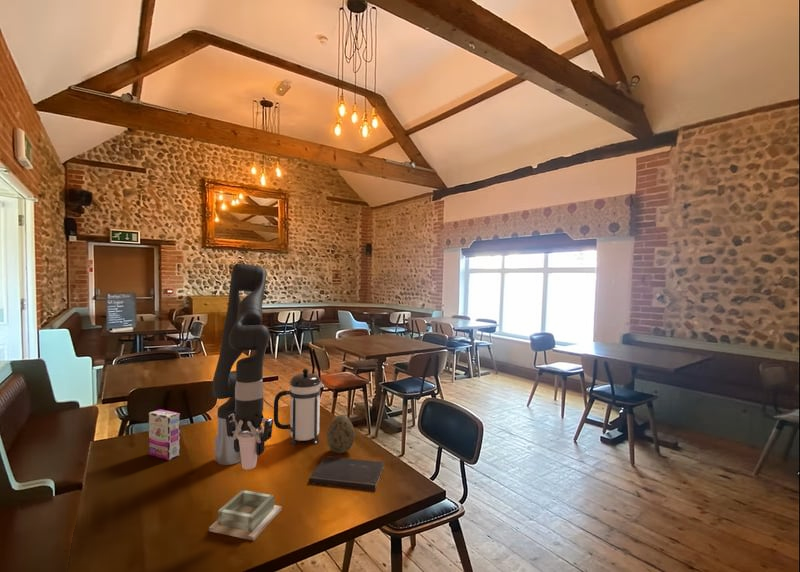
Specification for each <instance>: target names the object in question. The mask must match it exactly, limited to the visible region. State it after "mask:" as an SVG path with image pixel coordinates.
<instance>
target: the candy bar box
mask: <svg viewBox="0 0 800 572" xmlns="http://www.w3.org/2000/svg"><path fill="white" fill-rule="evenodd" d="M180 421H181V413H179V412H177V411H176V412H175V411H170V410H165V409H161V408H160V409H156V410H153V411H150V412H148V455H149V456H152V457H156V458H160V459H163V460H167V461H171V460H172V459H175V458H177V457H179V456H180V455H181V445H180V444H181V441H180V440H181V437H180V435H181V422H180Z"/></svg>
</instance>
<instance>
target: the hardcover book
mask: <svg viewBox="0 0 800 572" xmlns="http://www.w3.org/2000/svg"><path fill="white" fill-rule="evenodd" d="M385 463H386V462H384V461H376V460H367V459H355V458H348V457H347V458H346V457H336V456H330V455H329V456H326V455H325V456H324V457H323V458H322V460H321V461H320V463H319V464H318V465H317V466H316V468H315V470H314V471H312V473H311V475H310V476H309V479H308V484H310V483H315V484H314V485H319V484H322V485H321V486H328V485H329V487H330V486H331V487H336V488H337V487H338V488H344V489H345V488H346V489H347V488H348V489H355V490H363V491H374V492H376V488H377V485H378V483H379V480H380V477H381V476H382V473H383V471H382V470H384V467H385ZM380 475H381V476H380Z"/></svg>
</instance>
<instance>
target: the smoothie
mask: <svg viewBox="0 0 800 572" xmlns="http://www.w3.org/2000/svg"><path fill="white" fill-rule="evenodd" d="M256 431H258V429H256ZM259 435H260V433H259ZM255 437H256V436H253V434H252V432H249V431H242V432H241V433H239V434H238V435H237V439H238V440H239V446H240V454H241V461H240V462H241V468H242V469H243V470H252V469H254V468H255V467H256V466H257V460H258V455H257V454H256V452H257V440H256V438H255Z"/></svg>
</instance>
